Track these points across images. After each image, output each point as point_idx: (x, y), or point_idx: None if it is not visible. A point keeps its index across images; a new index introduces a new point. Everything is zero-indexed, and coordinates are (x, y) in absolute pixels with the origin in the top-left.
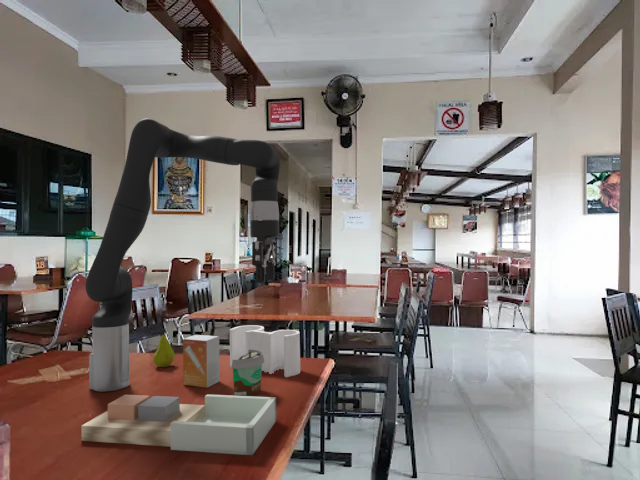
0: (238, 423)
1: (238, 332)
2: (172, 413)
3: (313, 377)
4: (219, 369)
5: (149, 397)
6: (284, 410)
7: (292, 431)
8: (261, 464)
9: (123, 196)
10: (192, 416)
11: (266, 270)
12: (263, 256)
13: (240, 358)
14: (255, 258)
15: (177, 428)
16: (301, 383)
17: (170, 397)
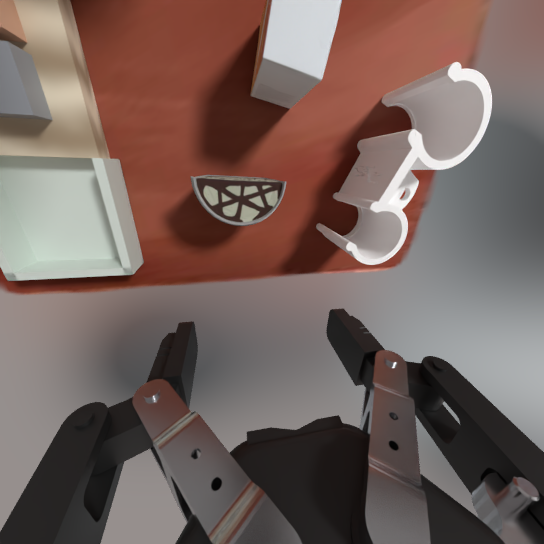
0: (102, 222)
1: (463, 88)
2: (18, 117)
3: (314, 265)
4: (295, 103)
5: (3, 29)
6: (179, 262)
7: (118, 288)
8: (20, 282)
9: None
10: (46, 156)
11: (350, 338)
12: (173, 493)
13: (228, 183)
14: (160, 439)
15: None
16: (287, 255)
17: (20, 93)
